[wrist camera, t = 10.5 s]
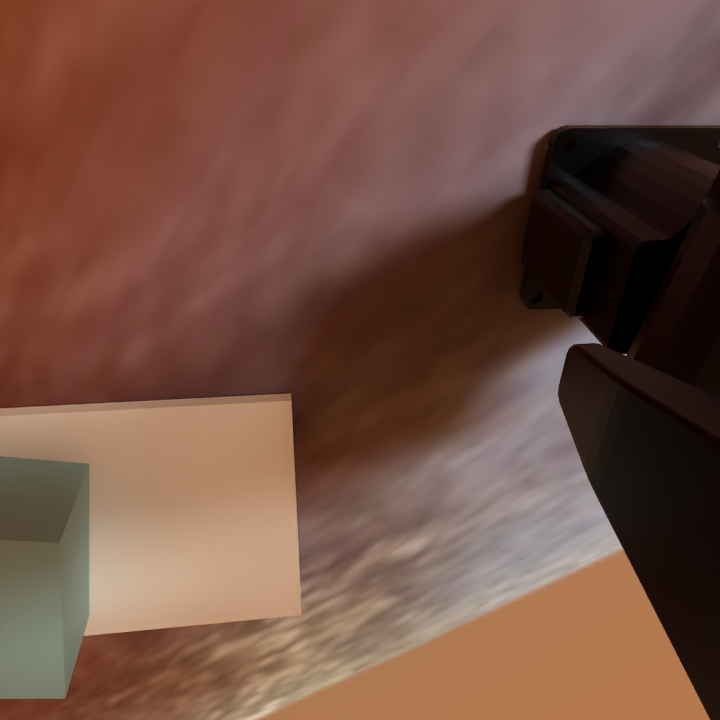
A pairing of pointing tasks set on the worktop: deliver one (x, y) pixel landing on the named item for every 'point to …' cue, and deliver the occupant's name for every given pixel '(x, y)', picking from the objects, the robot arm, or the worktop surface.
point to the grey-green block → (42, 575)
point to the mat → (178, 505)
